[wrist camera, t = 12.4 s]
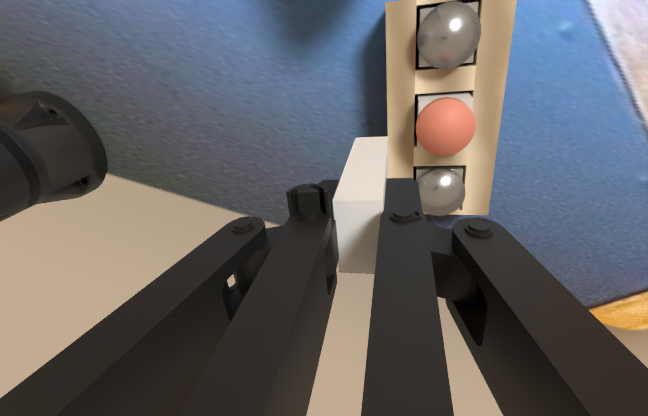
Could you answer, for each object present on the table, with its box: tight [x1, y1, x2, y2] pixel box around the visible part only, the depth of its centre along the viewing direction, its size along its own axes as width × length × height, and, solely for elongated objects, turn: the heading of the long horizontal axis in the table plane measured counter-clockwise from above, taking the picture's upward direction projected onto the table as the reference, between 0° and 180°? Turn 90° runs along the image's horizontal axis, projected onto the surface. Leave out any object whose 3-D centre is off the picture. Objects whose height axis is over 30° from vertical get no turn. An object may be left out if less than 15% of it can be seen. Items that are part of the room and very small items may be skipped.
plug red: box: [416, 91, 476, 156], centre depth 31 cm, size 5×5×6 cm
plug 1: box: [417, 1, 481, 69], centre depth 29 cm, size 5×5×6 cm
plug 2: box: [415, 165, 465, 216], centre depth 36 cm, size 5×5×6 cm
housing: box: [385, 0, 517, 215], centre depth 33 cm, size 10×20×5 cm, turn 6°
